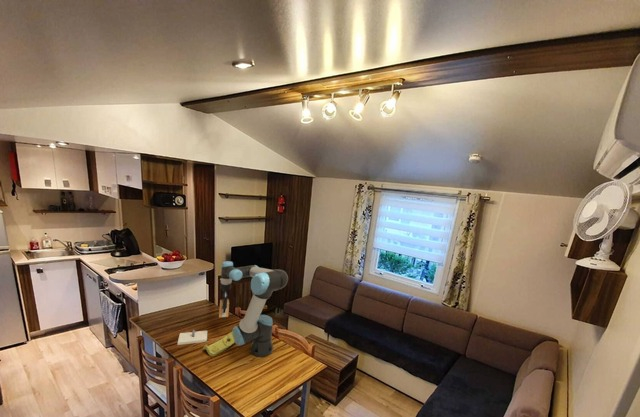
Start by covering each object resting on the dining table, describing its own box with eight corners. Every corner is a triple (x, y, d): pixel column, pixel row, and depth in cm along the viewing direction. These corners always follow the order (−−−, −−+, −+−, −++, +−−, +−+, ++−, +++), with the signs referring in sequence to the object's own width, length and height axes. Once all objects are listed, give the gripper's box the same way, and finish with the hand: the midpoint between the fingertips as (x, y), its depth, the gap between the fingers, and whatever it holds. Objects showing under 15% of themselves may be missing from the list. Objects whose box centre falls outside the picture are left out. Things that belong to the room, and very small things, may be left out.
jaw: (228, 316, 185) (229, 303, 185) (219, 317, 183) (220, 303, 183) (227, 312, 192) (228, 299, 191) (219, 313, 190) (220, 299, 189)
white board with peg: (206, 341, 180) (207, 332, 180) (177, 344, 173) (178, 335, 173) (207, 332, 191) (207, 324, 191) (179, 335, 184) (180, 326, 184)
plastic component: (212, 355, 163) (204, 342, 168) (209, 362, 166) (201, 350, 171) (238, 340, 179) (231, 329, 184) (235, 347, 181) (228, 336, 186)
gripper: (220, 278, 194) (218, 308, 195) (220, 288, 176) (218, 321, 177) (230, 278, 197) (228, 307, 198) (232, 287, 179) (229, 320, 180)
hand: (223, 314), depth 187 cm, fingers closed on jaw, 7 cm apart
